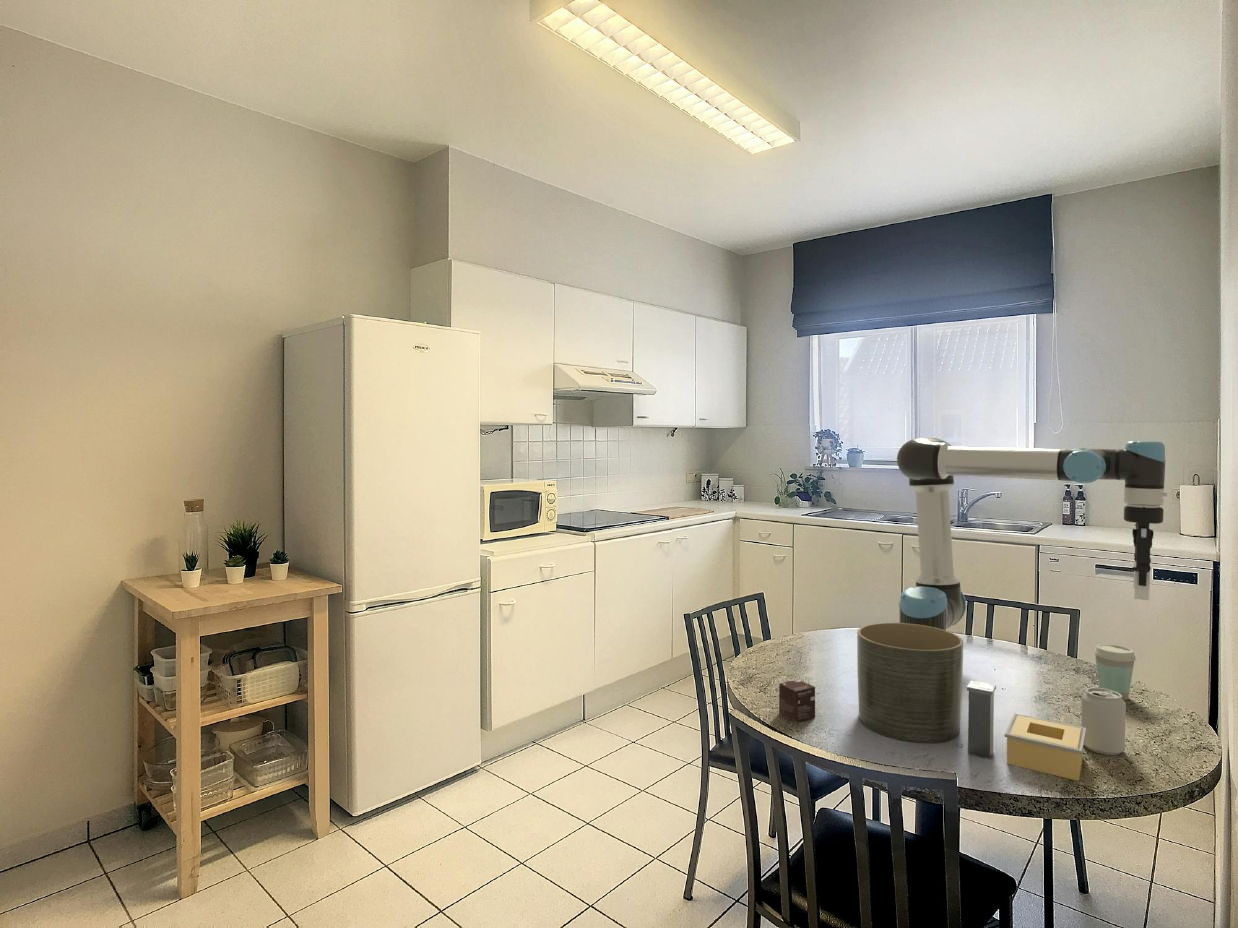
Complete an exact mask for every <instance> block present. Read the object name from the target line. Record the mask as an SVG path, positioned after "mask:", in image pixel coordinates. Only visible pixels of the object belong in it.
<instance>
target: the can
mask: <svg viewBox="0 0 1238 928" xmlns="http://www.w3.org/2000/svg"><path fill="white" fill-rule="evenodd" d="M1121 698H1122V695H1121V694H1119V693H1118V692H1115V691H1112V690H1109V689H1104V688H1099V687H1088V688H1086V689H1085V693H1084V694H1082V696H1081V720H1080V721H1081V722H1080V723H1081V724H1080V725H1081V726H1080V727H1084V728H1086V734H1085V739H1084V745H1083V746H1085V748H1087V749H1088V750H1090V751H1091V752H1094V753H1097V754H1099V755H1100V754H1101V755H1106V756H1118V755H1120V753H1123V752H1124V751H1126V750H1125V749H1126V715H1127V714H1126V713H1127V710H1126V709H1127V707H1126V705H1127V703H1126V702H1125V700H1122V699H1121Z"/></svg>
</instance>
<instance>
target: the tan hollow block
mask: <svg viewBox="0 0 1238 928" xmlns="http://www.w3.org/2000/svg"><path fill="white" fill-rule="evenodd" d="M1085 734H1086V728H1084V727H1081V726H1078V725H1074V724H1068V723H1064V722H1059V721H1054V720H1049V719H1044V718H1039V717H1034V716H1029V715H1025V714H1021V713H1015V712H1014V713H1013V714H1012V717H1011V718H1010V721H1009V723H1008V726H1007V728H1006V730H1005V732H1004V738H1006V765H1007V764H1009V765H1011V766H1016V767H1020V768H1024V769H1029V770H1032V771H1036V772H1040V773H1045V774H1048V775H1053V776H1056V777H1057V776H1058V777H1061V778H1065V779H1070V780H1074V781H1078V782H1080V777H1081V770H1082V766H1083V760H1084V746H1085V745H1084V739H1085Z"/></svg>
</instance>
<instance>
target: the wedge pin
mask: <svg viewBox="0 0 1238 928" xmlns="http://www.w3.org/2000/svg"><path fill="white" fill-rule="evenodd" d="M996 689H997V685H996V684H991V683H988V682H981V681H976V680H970V681H969V683H968V684H967V685H966V691H967V692H968V705H967V706H968V712H967V713H968V715H967V718H968V722H967V727H968V729H967V754H968V755H970V756H974V757H975V756H976V757H979V758H983V759H987V760H990V759H991V758H992V756H993V753H994V724H995V723H994V719H995V718H994V712H995V711H994V710H995V709H994V708H995V707H994V706H995V691H996Z"/></svg>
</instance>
